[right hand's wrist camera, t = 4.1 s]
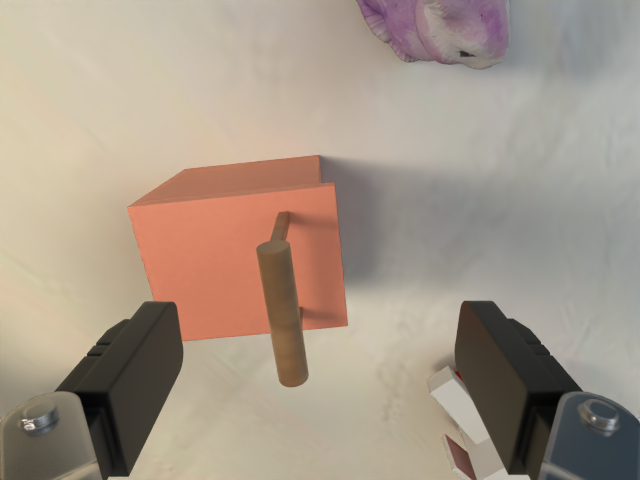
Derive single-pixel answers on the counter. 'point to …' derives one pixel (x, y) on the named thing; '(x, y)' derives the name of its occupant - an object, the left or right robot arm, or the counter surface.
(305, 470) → the counter surface
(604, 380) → the counter surface
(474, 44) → the figurine
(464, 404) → the toy
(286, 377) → the lid
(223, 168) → the chest
